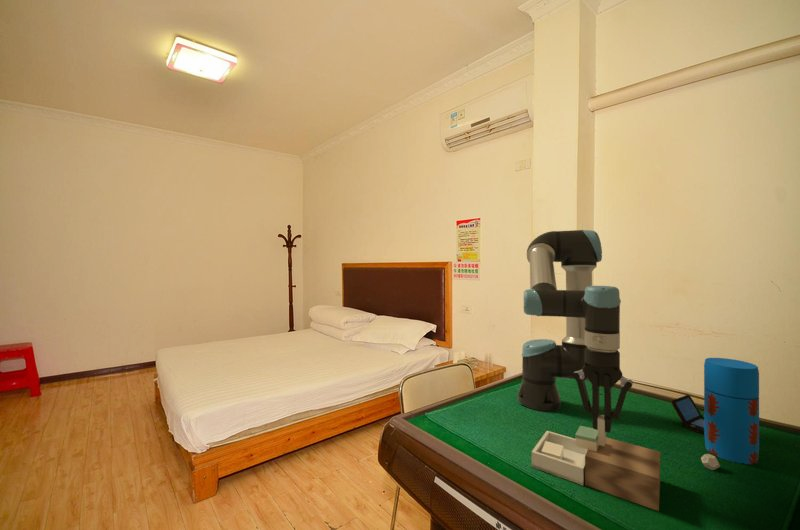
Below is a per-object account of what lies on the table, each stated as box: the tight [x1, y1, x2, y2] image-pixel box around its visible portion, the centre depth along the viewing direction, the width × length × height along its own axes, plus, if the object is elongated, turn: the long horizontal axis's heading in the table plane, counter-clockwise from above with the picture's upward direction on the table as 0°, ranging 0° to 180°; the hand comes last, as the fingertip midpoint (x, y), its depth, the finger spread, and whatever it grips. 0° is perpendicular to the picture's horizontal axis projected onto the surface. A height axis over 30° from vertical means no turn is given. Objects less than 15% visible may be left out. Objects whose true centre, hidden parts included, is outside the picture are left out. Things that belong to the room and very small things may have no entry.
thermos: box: [703, 357, 760, 465], centre depth 94 cm, size 11×11×25 cm
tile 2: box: [574, 425, 599, 452], centre depth 87 cm, size 4×6×3 cm
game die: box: [700, 453, 721, 471], centre depth 88 cm, size 4×4×3 cm
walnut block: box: [584, 436, 661, 512], centre depth 82 cm, size 14×13×7 cm
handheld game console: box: [671, 394, 704, 435], centre depth 111 cm, size 12×11×7 cm
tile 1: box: [541, 441, 563, 460], centre depth 91 cm, size 4×6×3 cm
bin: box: [531, 430, 587, 486], centre depth 90 cm, size 12×14×4 cm
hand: (601, 443), depth 85 cm, fingers closed
